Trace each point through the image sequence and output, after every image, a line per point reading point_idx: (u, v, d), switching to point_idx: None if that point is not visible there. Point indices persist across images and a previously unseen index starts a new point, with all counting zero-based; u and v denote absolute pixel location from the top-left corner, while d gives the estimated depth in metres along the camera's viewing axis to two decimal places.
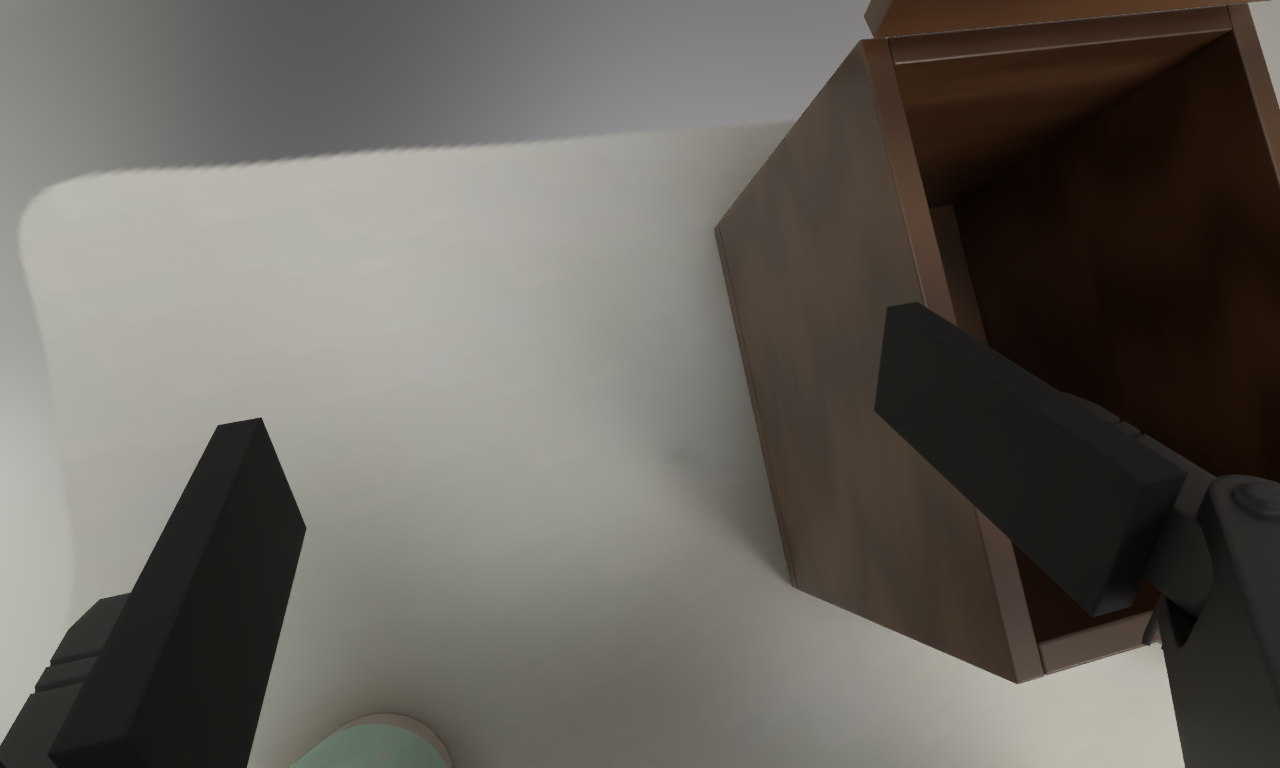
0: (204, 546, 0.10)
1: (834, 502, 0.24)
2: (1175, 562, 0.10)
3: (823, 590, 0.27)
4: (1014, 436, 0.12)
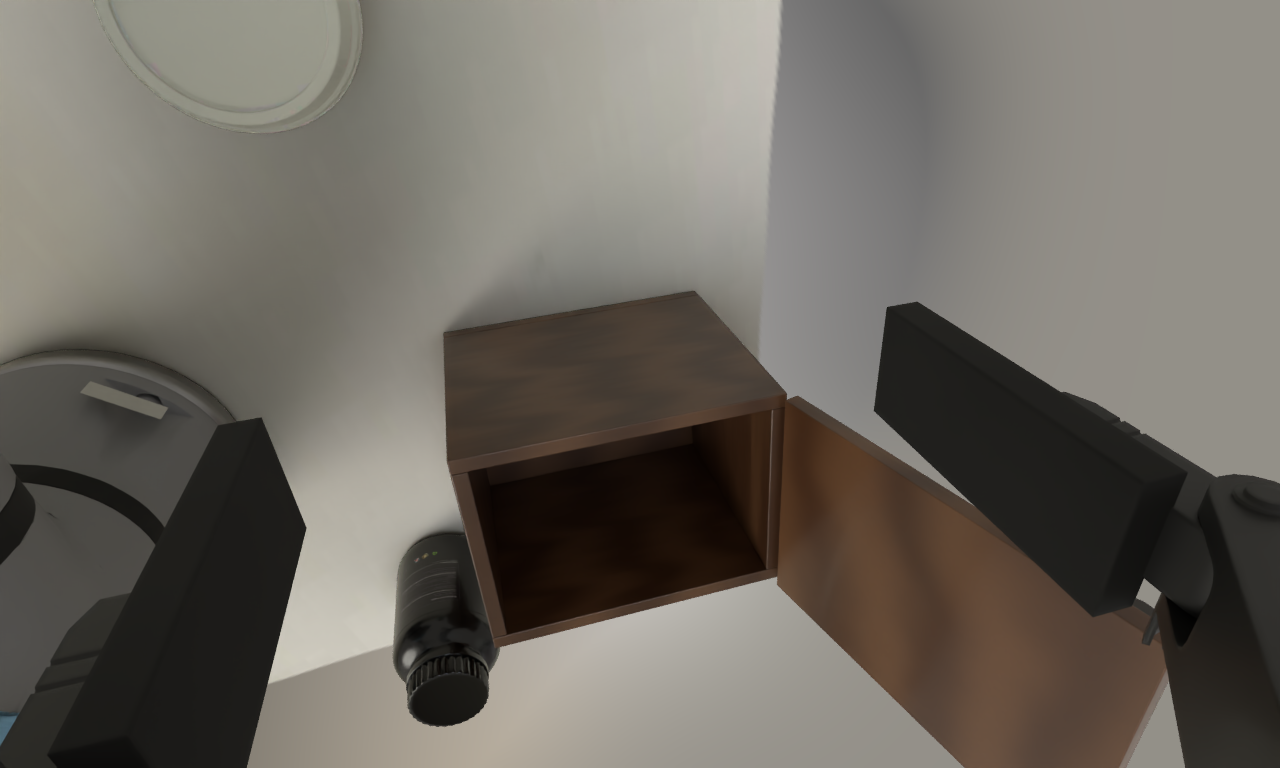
0: (204, 546, 0.10)
1: (518, 366, 0.38)
2: (1175, 562, 0.10)
3: (451, 356, 0.40)
4: (1014, 436, 0.12)
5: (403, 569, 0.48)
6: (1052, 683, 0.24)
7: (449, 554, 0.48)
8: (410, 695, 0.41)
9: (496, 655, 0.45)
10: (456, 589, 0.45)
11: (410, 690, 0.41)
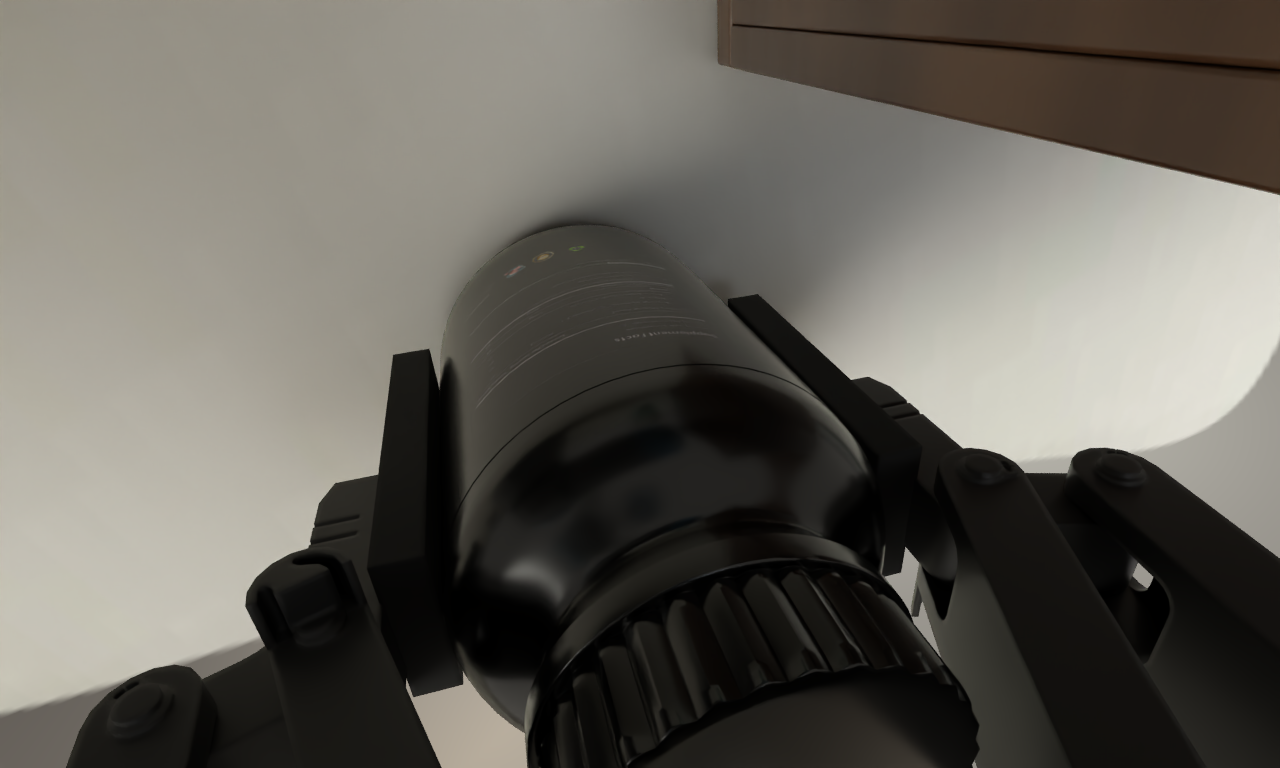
0: (424, 438, 0.12)
1: None
2: (925, 539, 0.11)
3: None
4: None
5: (467, 310, 0.14)
6: None
7: (629, 252, 0.14)
8: None
9: None
10: (703, 321, 0.11)
11: None
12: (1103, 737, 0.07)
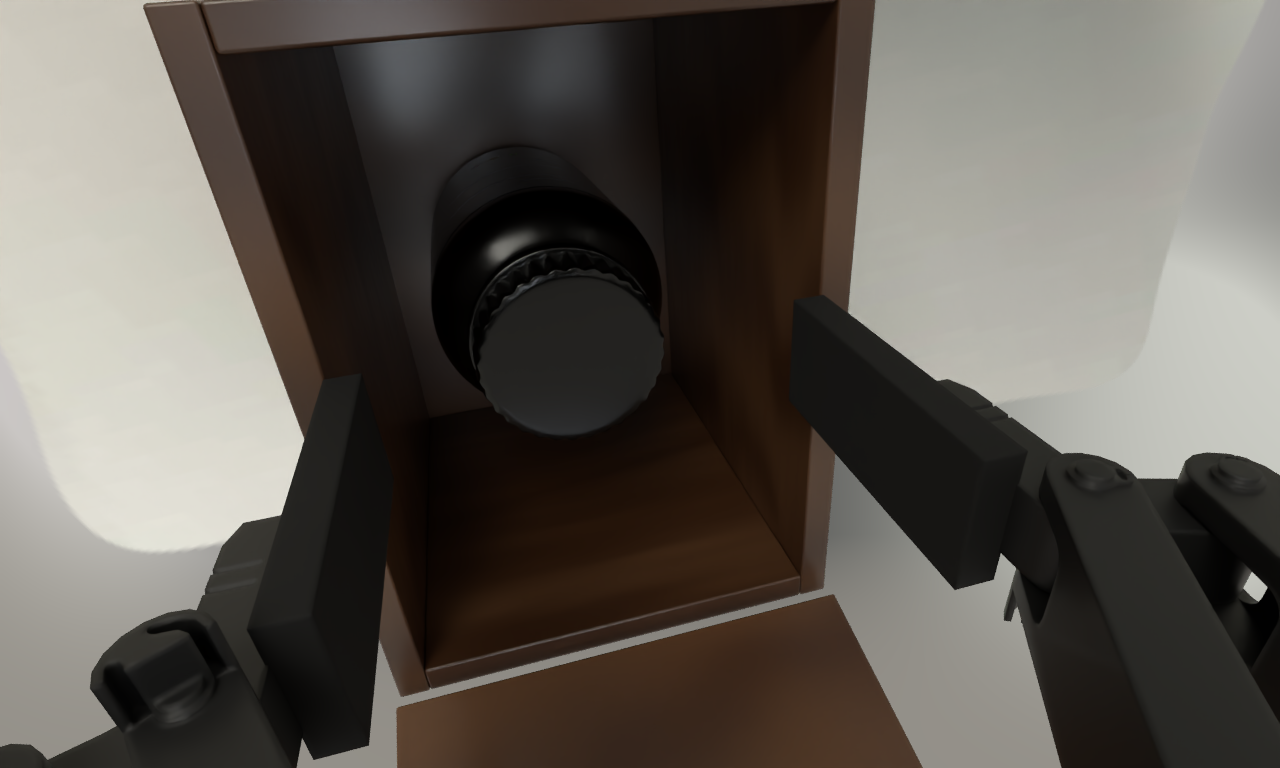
0: (337, 475, 0.11)
1: None
2: (1024, 542, 0.11)
3: None
4: (891, 420, 0.13)
5: (448, 190, 0.24)
6: None
7: (543, 157, 0.24)
8: (484, 325, 0.16)
9: None
10: (571, 179, 0.21)
11: (483, 319, 0.16)
12: (1203, 746, 0.07)
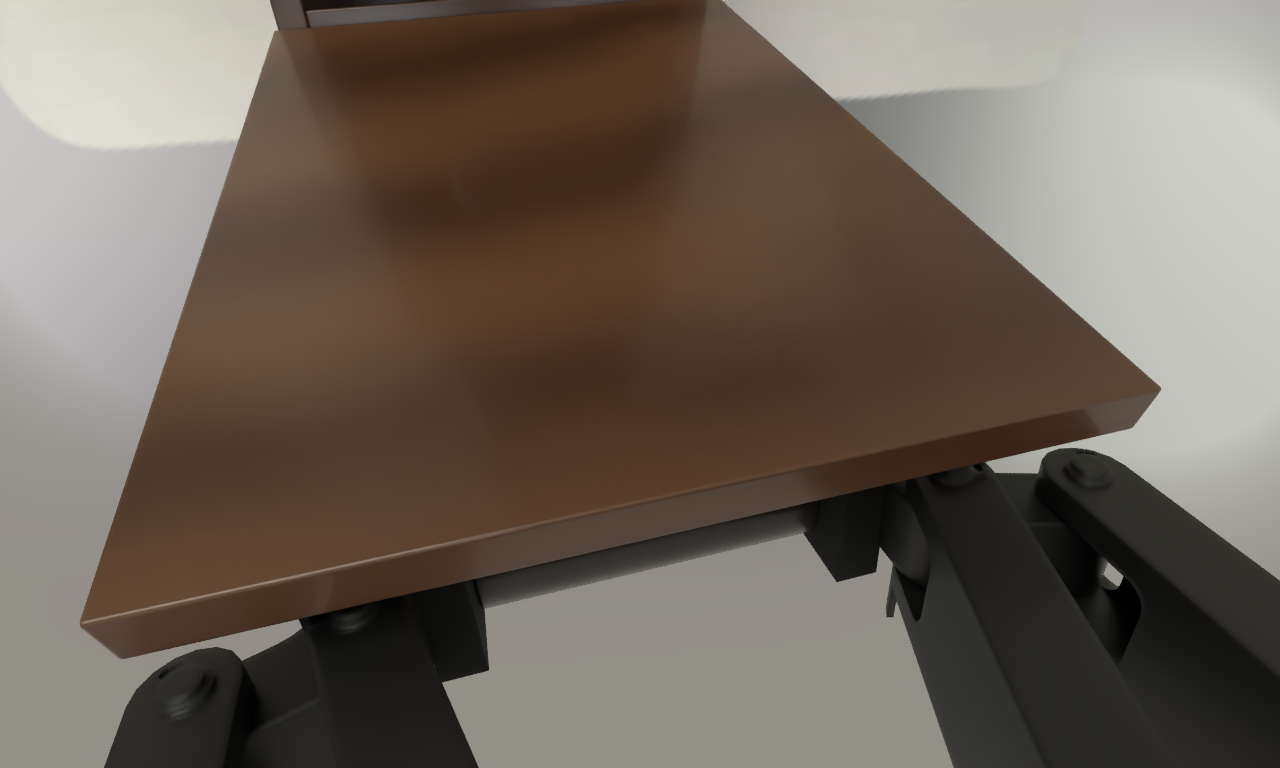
0: None
1: None
2: (897, 541, 0.11)
3: None
4: None
5: None
6: (762, 317, 0.10)
7: None
8: None
9: None
10: None
11: None
12: (1077, 737, 0.07)
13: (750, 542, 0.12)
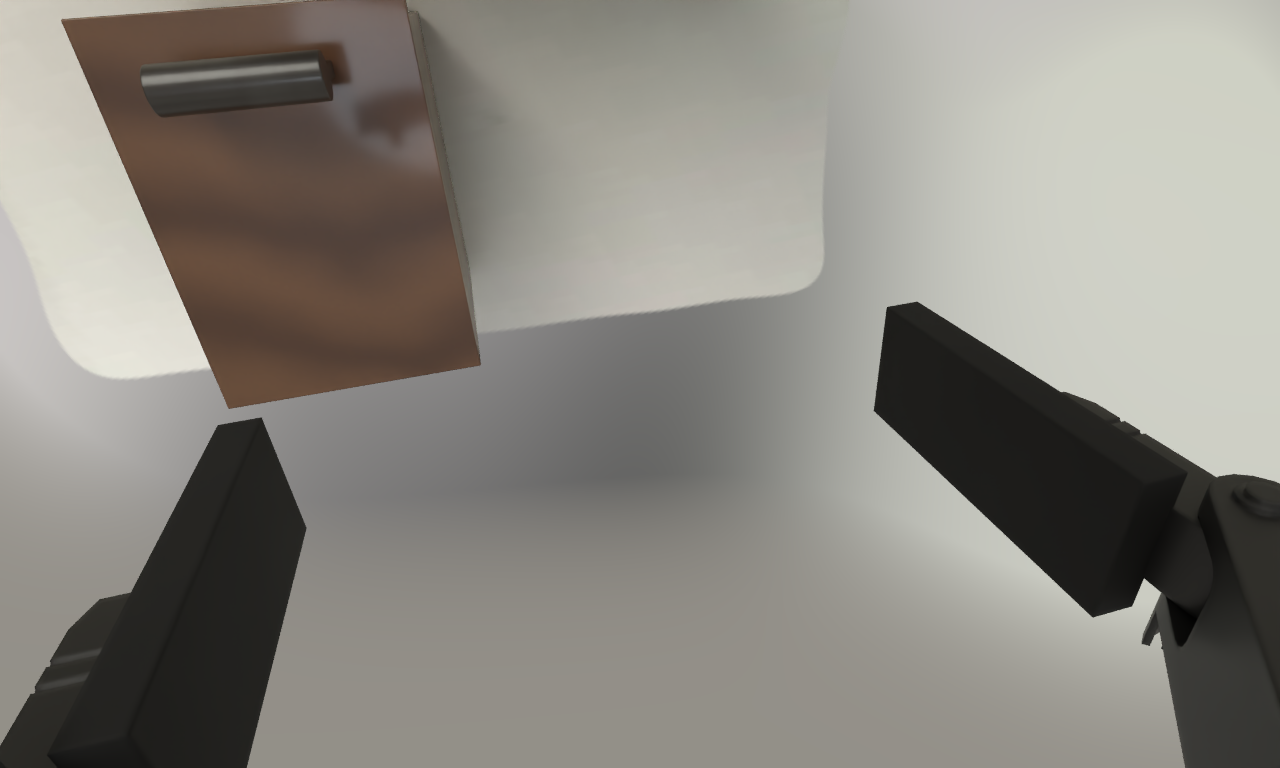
0: (204, 546, 0.10)
1: (431, 95, 0.38)
2: (1175, 562, 0.10)
3: (418, 21, 0.39)
4: (1014, 436, 0.12)
5: None
6: None
7: None
8: None
9: None
10: None
11: None
12: None
13: (282, 52, 0.25)
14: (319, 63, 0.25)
